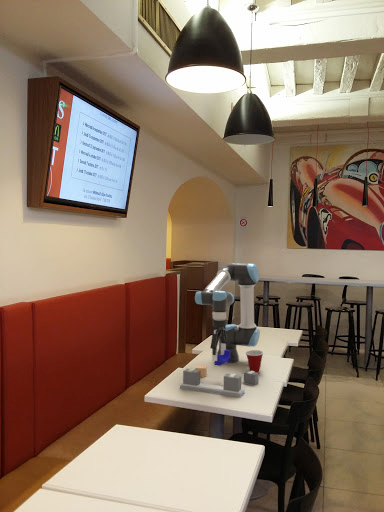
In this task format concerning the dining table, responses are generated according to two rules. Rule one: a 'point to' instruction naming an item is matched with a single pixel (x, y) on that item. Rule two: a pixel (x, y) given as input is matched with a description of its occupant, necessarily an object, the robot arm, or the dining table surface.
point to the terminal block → (202, 370)
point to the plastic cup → (254, 360)
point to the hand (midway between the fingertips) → (219, 357)
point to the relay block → (251, 377)
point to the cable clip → (222, 358)
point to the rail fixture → (229, 388)
